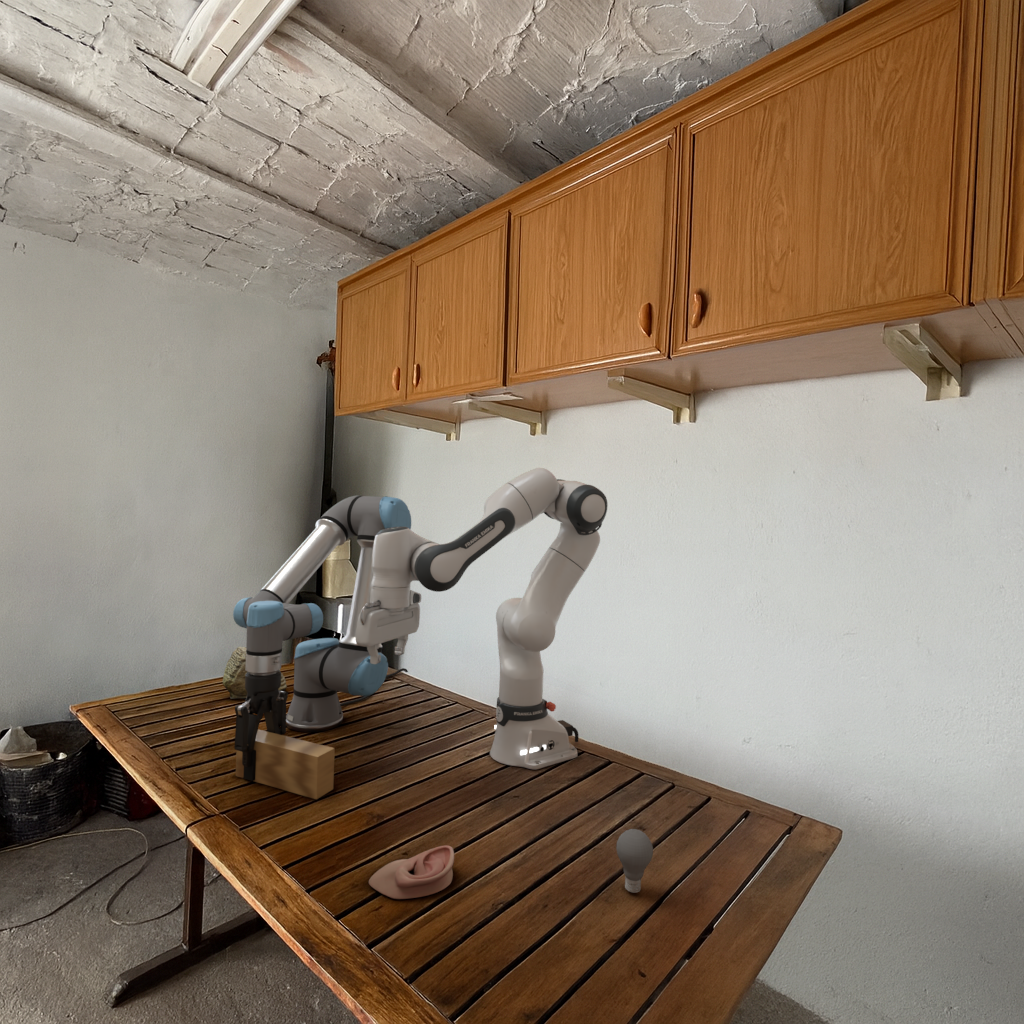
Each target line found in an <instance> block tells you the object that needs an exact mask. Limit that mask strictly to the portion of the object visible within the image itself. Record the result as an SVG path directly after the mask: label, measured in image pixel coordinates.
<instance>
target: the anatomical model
mask: <svg viewBox="0 0 1024 1024" xmlns="http://www.w3.org/2000/svg"><path fill="white" fill-rule="evenodd" d="M454 863H455V850H454V848H453V847H452V846H451V845H447V844H445V845H439V846H436V847H433V848H430V849H427V850H425V851H423V852H420V853H417V854H415V855H414V856H412V857H409V858H403V859H401V858H400V859H396V860H394V861H390V862H389V863H387V864H385V865H384V866H382V867H381V868H379V869H378V870H377V871H376V872H374V873H373V875H371V877H370V878H369V880H368V885H369V886H370V887H371V888H372V889H373V890H375V891H377V892H378V893H380V894H381V895H384V896H386V897H389V898H391V899H394V900H406V899H414V898H422V897H426V896H430V895H434V894H436V893H438V892H439V893H440V891H443V890H445V889H446V888H447V887H449V886H450V885H451V883H452V881H453V876H454V873H453V866H454Z"/></svg>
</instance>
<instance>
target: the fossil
mask: <svg viewBox="0 0 1024 1024" xmlns="http://www.w3.org/2000/svg"><path fill="white" fill-rule="evenodd" d="M245 669H246V647H245V646H238V647H237V648H236V649H235V650H233V651H232V653H231V656H230V657H229V659H228V660H227V663H226V666H225V668H224V671H223V675H222V676H223V677H222V685H223V687H224V688H225V690H226V691H228V693H229V698H230V699H246V697H247V691H246V689H245V674H246V673H247V671H246V670H245ZM287 687H288V686H287V680H286V678H285V676H284V674H283V673H282V672H281V686H280V688H279V689H278V690H280V691H284V692H286V689H287Z"/></svg>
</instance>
